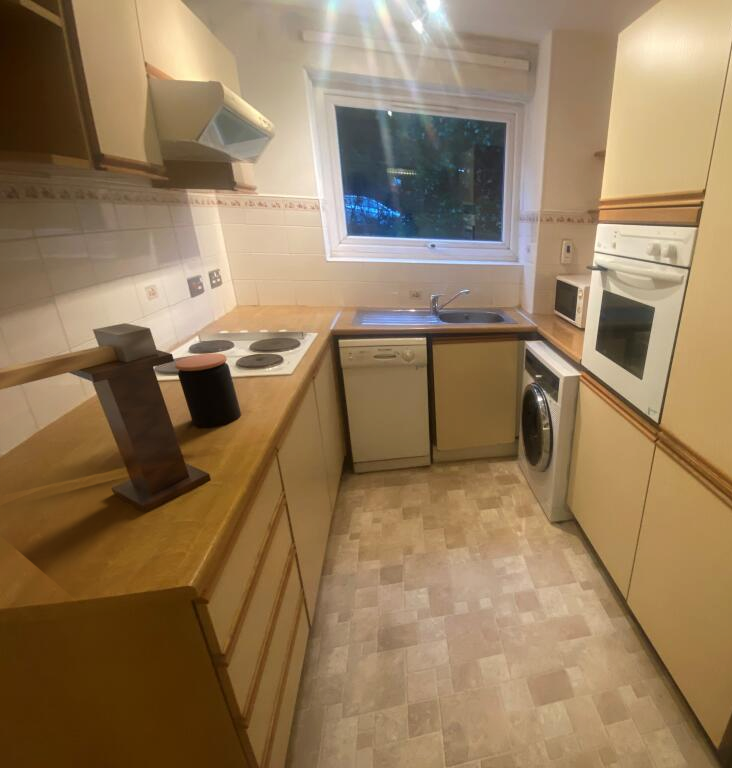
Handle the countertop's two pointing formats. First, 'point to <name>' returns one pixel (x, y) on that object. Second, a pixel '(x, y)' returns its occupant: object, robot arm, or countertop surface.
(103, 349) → the mallet
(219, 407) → the coffee jar
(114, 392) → the stand
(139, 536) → the countertop surface
